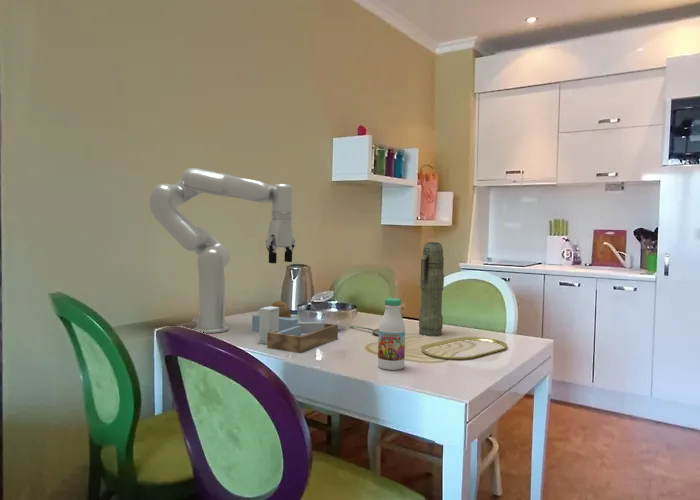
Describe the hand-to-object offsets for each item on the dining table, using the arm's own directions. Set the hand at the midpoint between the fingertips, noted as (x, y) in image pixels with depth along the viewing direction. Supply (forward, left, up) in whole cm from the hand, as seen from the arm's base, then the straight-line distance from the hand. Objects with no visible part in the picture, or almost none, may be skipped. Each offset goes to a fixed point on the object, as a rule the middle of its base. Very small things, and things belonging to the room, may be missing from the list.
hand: (280, 262), depth 197 cm
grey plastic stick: (+12, +5, -26) cm, 29 cm away
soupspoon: (+29, +18, -27) cm, 43 cm away
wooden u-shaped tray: (+18, -11, -26) cm, 33 cm away
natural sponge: (-6, +9, -26) cm, 29 cm away
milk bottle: (+56, -23, -26) cm, 66 cm away
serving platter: (+69, +10, -27) cm, 74 cm away
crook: (+1, -11, -26) cm, 29 cm away
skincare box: (+7, -17, -26) cm, 32 cm away
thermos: (+51, +28, -26) cm, 63 cm away
